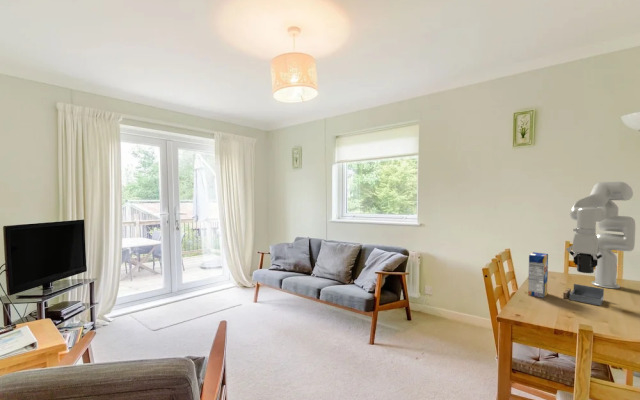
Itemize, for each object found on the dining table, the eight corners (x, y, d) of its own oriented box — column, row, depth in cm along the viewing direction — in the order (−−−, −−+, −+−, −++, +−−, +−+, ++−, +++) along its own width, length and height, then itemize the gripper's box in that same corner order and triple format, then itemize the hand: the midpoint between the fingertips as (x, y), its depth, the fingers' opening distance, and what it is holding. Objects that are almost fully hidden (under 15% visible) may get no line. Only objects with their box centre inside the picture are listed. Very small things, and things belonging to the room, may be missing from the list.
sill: (568, 293, 173) (568, 288, 173) (570, 294, 172) (570, 288, 172) (563, 298, 165) (563, 292, 165) (566, 298, 164) (566, 293, 164)
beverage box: (528, 295, 170) (529, 254, 170) (532, 290, 178) (533, 252, 178) (543, 298, 166) (544, 256, 165) (547, 293, 173) (548, 253, 173)
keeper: (573, 294, 171) (574, 283, 171) (603, 300, 162) (603, 288, 162) (569, 299, 163) (569, 288, 163) (600, 305, 154) (600, 293, 154)
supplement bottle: (588, 270, 166) (589, 248, 166) (596, 273, 160) (596, 250, 159) (573, 270, 168) (573, 247, 168) (581, 273, 161) (581, 249, 161)
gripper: (563, 230, 168) (562, 263, 168) (607, 234, 154) (606, 270, 155) (567, 229, 172) (566, 261, 173) (609, 232, 159) (608, 267, 159)
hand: (585, 265), depth 164 cm, fingers closed on supplement bottle, 6 cm apart
